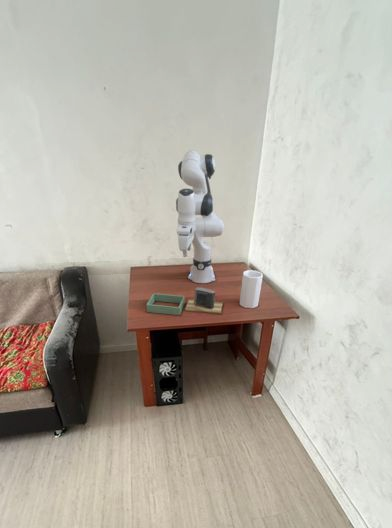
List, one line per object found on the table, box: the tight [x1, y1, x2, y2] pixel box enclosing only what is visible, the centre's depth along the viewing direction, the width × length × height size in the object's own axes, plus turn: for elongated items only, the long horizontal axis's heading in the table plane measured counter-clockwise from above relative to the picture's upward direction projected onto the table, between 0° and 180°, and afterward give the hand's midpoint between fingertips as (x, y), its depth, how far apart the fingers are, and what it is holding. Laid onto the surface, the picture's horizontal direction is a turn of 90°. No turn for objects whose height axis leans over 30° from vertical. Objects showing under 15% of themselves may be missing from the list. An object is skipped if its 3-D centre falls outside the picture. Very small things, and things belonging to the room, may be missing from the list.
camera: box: [193, 286, 216, 309], centre depth 162 cm, size 11×6×10 cm, turn 64°
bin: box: [145, 292, 186, 316], centre depth 164 cm, size 14×18×4 cm
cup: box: [239, 269, 264, 309], centre depth 165 cm, size 11×11×18 cm
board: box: [184, 299, 224, 315], centre depth 166 cm, size 12×20×1 cm, turn 81°
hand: (187, 253), depth 155 cm, fingers open, 8 cm apart
